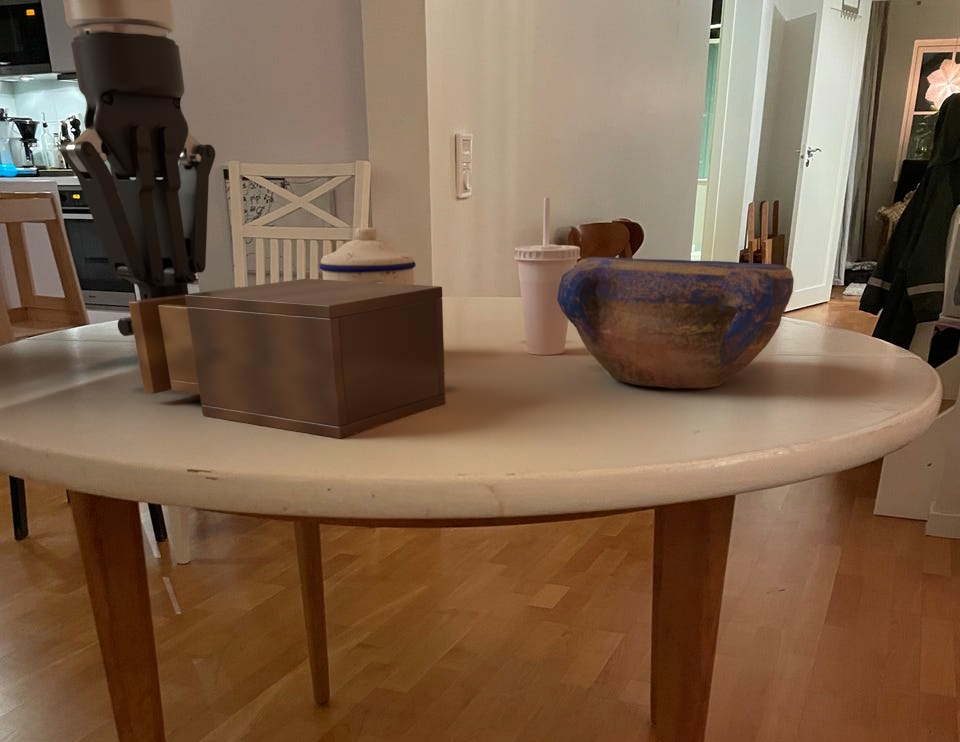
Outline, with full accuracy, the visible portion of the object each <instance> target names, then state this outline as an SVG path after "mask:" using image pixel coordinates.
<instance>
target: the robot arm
mask: <svg viewBox="0 0 960 742" xmlns="http://www.w3.org/2000/svg"><path fill="white" fill-rule="evenodd" d="M173 3H174V2H173V0H62V4H63V10H64V15H65V16H64V17H65V21H66V25H67V26H68V27H69V28H71V30H74V31H76V32H77V36H74V38H73V39H72V41H71V42H70V46H71V52H72V57H73V63H74V69H75V74H76V79H77V85H78V89H79V91H80V94H82V95H83V96H84V98H85V102H86V103H85V104H86V106H85V107H86V109H85V113H84V119H83V124H84V128H85V130H84V131H82V133H81V134H79V136H77V138H75V140H74V141H64V142H62V143H61V144H60V147H59V151H60V155H61V156H62V158H63V159H64V161H65V162H66V164H67V165H68V166H69V168H70V169H71V171H72V172H73V173H74V175H75V176H76V178H77V180H78V182H79V185H80V188H81V191H82V193H83V196H84V199H85V201H86V203H87V207H88V209H89V212H90V214H91V217H92V220H93V223H94V226H95V228H96V231H97V233H98V235H99V239H100V241H101V244H102V247H103V249H104V252H105V255H106V257H107V260H108V263H109V265H110V268H111V270H112V273H113V275H114V276H115V277H116V278H118V279H124V280H127V281H128V283H130V284H132V285H136V286H137V288H138V292H139V298H140V300H145V299H152V298H160V297H167V296H175V295H182V294H189V289H188V287H189V286H188V284H194V283H195V282H196V280H197V273H198V274H199V273H204V271H205V270H206V262H207V235H208V213H209V212H208V210H209V208H208V207H209V181H210V174H211V171H212V168H213V165H214V162H215V159H216V150H215V147H214V146H213V145H212V144H209V143H208V144H202V143H200V141H198V140H197V138H195V137H193V135H191V134H190V133H189V131H190V130H189V125H188V122H187V120H186V117H185V115H184V113H183V110H182V106H181V100H182V97H183V96H184V95H185V82H184V76H183V66H182V60H181V51H180V46H179V45H178V44H176V41H175V40H174V39H172V38H169V34H171V33H173V32H174V30H175V29H176V28H177V27H176V25H177V24H176V17H175V10H174V4H173ZM106 162H107V163H108V164H109V167H108V166H107V164H106ZM109 168H110V169H109ZM159 178H161V179H159Z"/></svg>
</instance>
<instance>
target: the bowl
mask: <svg viewBox="0 0 960 742" xmlns="http://www.w3.org/2000/svg"><path fill="white" fill-rule="evenodd" d="M794 281H795V279H794V275H793V271H792V269H791V268H790V267H787V266H785V265H782V264H775V263H756V262H739V261H738V262H737V261H723V260H689V259H688V260H687V259H665V258H664V259H662V258H661V259H660V258H656V259H655V258H654V259H653V258H631V257H616V256H588V257H585V258H582V259H579V260H578V261H577V263H576V265H575V266H574V268H573V269H571V270H569V271H567V272H566V273H565V274H564V275H563V276H562V278H561V282H560V285H559V291H558V299H557V300H558V303H559V305H560V307H561V309H562V312H563V313H564V314H565V315H566V317H567V318H568V319H569V320H568V321H569V322H570V323H571V324H572V325H573V326H574V327H575V328H576V331H577V333H578V335H579V338H580V339H581V341H582V343H583V345H584V347H585V349H586V350H587V351H588V352H589V354H590V355H592V357H593V358H594V359H595V360H596V361H597V362H598V364H599V365H601V367H602V368H604V370H605V371H607V372H608V374H609V375H610V376H611V377H612V379H614V380H617V381H620V382H622V383H626V384H630V385H634V386H635V385H636V386H646V387H659V388H666V389H667V388H668V389H700V390H701V389H702V390H704V389H709V388H715V387H718V386H721V385H722V384H723V383H725V382H726V381H728V380H729V379H730V378H732V377H733V376H735V375H736V374H738V372H740V371H742V370H743V369H744V368H746V367H747V366H749V365H750V364H751V363H752V362H754V360H755V359H756V358H757V357H758V356H759V354H760V353H761V352H763V350H764V349H765V348H766V347H767V345H768V344H769V343H770V341H771V340H772V338H773V337H774V336H775V334H776V332H777V331H778V329H779V327H780V326H781V322H782V317H783V314H784V312H785V310H786V308H787V306H788V305H789V302H790V300H791V298H792V295H793V292H794Z"/></svg>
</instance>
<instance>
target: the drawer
mask: <svg viewBox="0 0 960 742" xmlns="http://www.w3.org/2000/svg"><path fill="white" fill-rule="evenodd" d="M239 287H240V286H236V287H234V288H239ZM232 288H233V287H230V288H228V287H227V289H232ZM224 289H225V288H220V289H219V290H224ZM217 290H218V289H213V290H212V291H217ZM209 291H210V290H206V291H204V292H209ZM202 292H203V291H198V292H196V293H202ZM194 293H195V292H191V293H189V294H194ZM185 295H187V294H182V295H175V296H167V297H160V298H152V299H145V300H141V299H138V300H130V301H128V308H129V313H130V316H128V317H121V318H119V319H118V321H117V329H118V331H119V334H120V335H121V336H124V337H128V336H129V337H130V336H134V341H135V342H134V343H135V347H136V354H137V358H138V365H139V370H140V375H141V381H142V386H143V392H144V393H146V394H147V393H149V394H159V393H163V392H166V391H177V392H183V393H190V394H195V395H196V394H197V395H200V392H199V386H198V379H197V372H196V365H195V359H194V352H193V345H192V338H191V332H190V325H189V318H188V312H187V307H188V306H187V305H186V298H185Z"/></svg>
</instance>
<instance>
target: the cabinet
mask: <svg viewBox="0 0 960 742" xmlns="http://www.w3.org/2000/svg"><path fill="white" fill-rule="evenodd" d="M238 287H239V288H235V287H231V288H232V289H228V288H223V289H224V290H220V289H216V290H217V291H213V290H208V291H209V292H205V291H201V292H202V293H197V292H193V293H194V294H190V293H188V294H187V295H185V298H186V305H187V306H188V307H187V312H188V318H189V325H190V332H191V338H192V345H193V352H194V359H195V365H196V372H197V379H198V386H199V392H200V394H199V398H200V404H201V412H202V416H204V417H210V418H216V419H221V420H227V421H234V422H240V423H245V424H251V425H259V426H263V427H268V428H269V427H270V428H274V429H275V428H276V429H280V430H281V429H282V430H287V431H292V432H293V431H294V432H298V433H299V432H300V433H305V434H306V433H307V434H311V435H317V436H322V437H329V438H335V439H343V438H346V437H349V436H352V435H356V434H358V433H361V432H364V431H367V430H369V429H373V428H376V427H379V426H382V425H385V424H387V423H391V422H393V421H397V420H399V419H402V418H406V417H409V416H412V415H415V414H417V413H420V412H423V411H426V410H429V409H433V408H435V407H439V406H441V405H444V404H446V377H445V376H446V375H445V342H444V310H443V305H444V304H443V286H441V285H422V284H414V285H407V284H390V283H372V282H355V281H337V280H323V279H319V278H318V279H317V278H301V279H293V280H286V281H277V282H271V283H270V282H269V283H263V284H255V285H247V286H238Z"/></svg>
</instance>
